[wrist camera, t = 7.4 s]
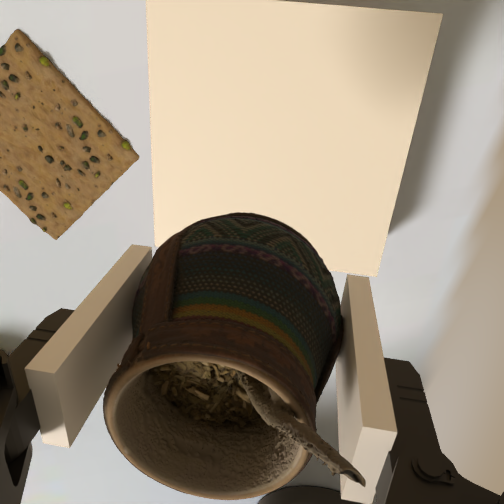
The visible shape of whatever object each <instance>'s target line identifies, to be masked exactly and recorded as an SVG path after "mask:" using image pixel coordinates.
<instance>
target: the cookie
mask: <svg viewBox="0 0 504 504" xmlns="http://www.w3.org/2000/svg"><path fill="white" fill-rule="evenodd" d="M138 159H139V156H138V155H137V153H136V152H135V151H134V150H133V149H132V148H131V146H130V144H129V143H128V142H127V141H126V140H124V139H123V138H122V137H121V136H120V135H119V134H118V132H117V131H116V130H115V129H114V128H113V127H112V126H111V125H110V123H109V122H107V121H106V120H105V119H104V118H103V117H102V116H101V115H100V114H99V113H98V112H97V111H96V110H95V109H94V108H93V106H92V105H91V104H90V103H89V102H88V101H87V100H86V99H85V98H84V97H83V96H82V95H81V94H80V93H79V92H78V91H77V90H76V88H75V87H74V86H73V85H72V84H71V83H70V82H69V81H68V79H67V78H66V77H64V76H63V75H62V74H61V73H60V72H59V71H58V70H57V69H56V68H55V66H54V65H53V64H52V63H51V62H50V60H49V59H48V58H46V57H45V56H44V55H43V54H42V53H41V52H40V51H39V49H38V48H37V47H36V46H35V45H34V44H33V43H32V42H31V41H30V39H29V38H28V37H27V36H26V35H25V34H24V33H22V32H21V31H20V30H15V31H14V33H12V34H11V36H10V37H9V39H8V41H7V42H6V44H5V45H4V46H2V47H1V48H0V191H1V192H2V193H3V194H5V195H6V196H7V197H8V198H9V199H10V200H11V201H12V202H13V203H14V204H15V205H16V206H17V207H18V208H19V209H20V210H21V211H22V212H23V213H24V214H25V215H27V217H28V218H29V219H30V221H31V222H32V223H33V224H36V225H38V226H39V227H40V228H41V229H42V230H43V232H46V233H48V234H49V235H50V236H52V238H54V239H55V240H57V239H58V238H59V236H61V235H62V234H63V233H64V232H65V231H66V230H67V229H68V228H69V227H70V226H71V225H72V224H73V223H74V222H75V221H76V220H77V219H79V218H80V217H81V216H82V215H83V213H84V212H85V211H86V210H87V209H88V208H89V207H90V206H92V204H93V203H94V202H95V201H96V200H97V199H98V198H99V197H100V196H101V195H102V194H103V193H104V192H105V191H106V190H108V189H109V188H110V186H111V185H112V184H113V183H114V182H115V181H116V180H117V179H118V178H119V177H120V176H122V175H123V173H124V172H125V171H127V170H128V168H129V167H130V166H131V165H132V164H133V163H134V162H136V161H137V160H138Z"/></svg>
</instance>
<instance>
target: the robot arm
mask: <svg viewBox="0 0 504 504" xmlns="http://www.w3.org/2000/svg"><path fill="white" fill-rule="evenodd" d="M151 261H152V247H147V246H140V245H133V244H132V245H131V246H130V247H129V249H128V250H127V251H126V252H125V253H124V254H123V255H122V257H121V258H120V259H119V260H118V261H117V262H116V264H115V265H114V266H113V267H112V268H111V269H110V270H109V272H108V273H107V274H106V275H105V276H104V277H103V279H102V280H101V281H100V282H99V283H98V284H97V285H96V287H95V288H94V289H93V290H92V291H91V292H90V294H89V295H88V296H87V297H86V298H85V299H84V300H83V302H82V303H81V304H80V305H79V306H78V307H77V309H76V310H69V309H63V308H61V309H59V310H58V311H56V312H54V313H52V314H51V315H49V316H47V317H46V318H45V319H44V320H43V321H42V322H41V323H40V324H39V325H38V326H37V327H36V330H33V332H32V333H31V334H30V335H29V336H28V337H27V340H26V339H25V340H24V341H23V342H22V343H21V344H20V345H19V346H18V347H17V348H16V349H15V351H14V352H13V353H12V354H11V355H10V356H9V357H8V356H7V355H6V353H5V352H4V351H3V350H0V504H20V503H21V499H22V495H23V491H24V487H25V483H26V478H27V474H28V470H29V466H30V462H31V458H32V444H31V441H32V439H33V438H34V436H35V435H36V434H37V432H38V431H39V429H40V432H41V436H42V440H43V443H46V444H51V445H56V446H62V447H67V448H70V447H71V445H72V443H73V442H74V440H75V438H76V437H77V435H78V433H79V432H80V430H81V428H82V427H83V425H84V423H85V421H86V420H87V418H88V416H89V415H90V413H91V411H92V410H93V408H94V406H95V405H96V403H97V401H98V400H99V398H100V396H101V395H102V393H103V391H104V390H105V388H106V386H107V385H108V382H109V379H110V378H111V376H112V375H113V374H114V373H115V371H116V369H117V368H118V367H117V364H120V363H121V361H122V359H123V356H124V354H125V352H126V351H127V349H128V347H129V345H130V344H131V342H132V337H133V334H132V330H133V329H132V309H133V305H134V299H135V295H136V292H137V290H138V287H139V283H140V281H141V278H142V275H143V274H144V272H145V270H146V268H147V267H148V265H149V264H150V262H151ZM340 307H341V315H342V316H343V321H344V323H343V324H344V332H343V338H342V344H341V348H340V352H339V354H338V357H337V359H336V386H337V411H338V436H339V454H340V455H341V456H342V457H344V458H345V459H346V460H347V461H349V462H350V463H351V464H352V465H353V467H354V468H356V469H357V470H358V471H359V472H360V474H361V475H362V476H363V477H364V479H365V481H366V486H365V487H363V486H362V485H361V484H360V483H356V482H354V481H352V480H350V479H349V478H348V477H347V476H345V475H344V474H340V486H341V493H340V492H337V491H334V490H330V489H325V488H320V487H309V486H301V487H290V488H285V489H281V490H278V491H275V492H273V493H270V494H269V495H267V496H265V497H264V498H263V499H261V500H260V501H259V502H258V504H362V503H365V504H372V501H373V499H374V496H375V493H376V498H377V504H504V492H503V494H502V495H501V496H500V495H497V494H495V493H493V492H491V491H489V490H487V489H485V488H482V487H480V486H478V485H476V484H474V483H472V482H470V481H469V480H467V479H465V478H464V477H462V476H461V475H460V474H458V472H457V470H456V468H455V467H454V465H453V463H452V462H451V461H450V460H449V459H448V458H447V457H446V456H445V455H444V454H443V453H442V452H441V449H440V446H439V443H438V439H437V435H436V432H435V428H434V425H433V421H432V417H431V414H430V410H429V407H428V404H427V400H426V396H425V392H423V391H424V389H423V385H422V382H421V378H420V375H419V374H418V372H417V371H416V370H415V368H414V367H413V366H412V365H411V363H410V362H409V361H403V360H396V359H390V358H384V357H383V352H382V346H381V341H380V335H379V330H378V325H377V319H376V314H375V308H374V303H373V298H372V292H371V287H370V282H369V277H362V276H355V275H348V274H347V278H346V283H345V287H344V292H343V297H342V301H341V306H340Z"/></svg>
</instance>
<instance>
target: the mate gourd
mask: <svg viewBox="0 0 504 504" xmlns="http://www.w3.org/2000/svg"><path fill="white" fill-rule="evenodd" d="M343 323H344V321H343V316H342V315H341V307H340V300H339V296H338V294H337V291H336V288H335V283H334V281H333V277H332V275H331V273H330V272H329V270H328V269H327V267H326V265H325V264H324V261H323V259H322V258H321V257H320V256H319V255H318V252H317V251H316V249H315V248H314V247H313V246H312V244H311V243H310V242H309V241H308V240H307V239H306V238H305V237H304V236H303V235H302V234H301V233H299V232H297V231H296V230H295V229H293V228H292V227H290V226H288V225H287V224H284V223H283V222H281V221H278V220H276V219H273V218H270V217H267V216H264V215H260V214H255V213H245V212H243V213H241V212H235V213H229V214H225V215H221V216H215V217H210V218H207V219H201V220H200V221H197V222H196V223H193V224H191V225H189V226H187V227H185V228H184V229H183V230H182V231H180V232H178V233H176V234H174V235H173V236H171V237H170V238H168V239H167V240H166V241H165V242H164V243H163V244H162V245H161V246H160V247H159V248H158V249H157V251H156V253H155V255H154V256H153V259H152V261H151V262H150V264H149V265H148V267H147V268H146V270H145V272H144V274H143V275H142V278H141V281H140V283H139V287H138V290H137V292H136V295H135V299H134V305H133V309H132V329H133V330H132V334H133V337H132V342H131V344H130V345H129V347H128V349H127V351H126V352H125V354H124V356H123V359H122V361H121V364H120V365H119V364H117V367H118V368H117V369H116V372H115V373H114V374H113V375H112V376H111V378H110V379H109V382H108V385H107V387H106V390H105V393H104V398H103V413H104V420H105V424H106V426H107V430H108V432H109V434H110V436H111V438H112V440H113V442H114V443H115V445H116V447H117V448H118V449H119V451H120V452H121V453H122V454H123V455H124V457H125V458H126V459H127V460H128V461H129V462H130V463H131V464H132V465H133V466H135V467H136V468H137V469H138V470H140V471H141V472H142V473H144V474H145V475H147V476H148V477H150V478H152V479H154V480H155V481H157V482H159V483H161V484H163V485H166V486H168V487H170V488H172V489H175V490H177V491H180V492H183V493H186V494H191V495H195V496H199V497H204V498H210V499H219V500H238V499H246V498H252V497H256V496H260V495H263V494H266V493H269V492H272V491H274V490H276V489H278V488H280V487H282V486H284V485H285V484H287V483H288V482H290V481H291V480H292V479H294V478H295V477H296V476H297V475H298V474H299V473H300V472H301V471H302V470H303V469H304V468H305V466H306V465H307V463H308V462H309V460H310V458H311V457H312V454H314V455H315V456H316V458H317V461H318V458H319V459H321V460H322V461H324V464H322V465H326V464H327V465H328V468H330V470H331V471H332V475H333V476H334V475H335V474H336V473H338V474H344V475H345V476H347V477H348V478H349V479H350V480H352V481H354V482H356V483H360V484H361V485H362V486H363V487H365V486H366V481H365V479H364V477H363V476H362V475H361V474H360V472H359V471H358V470H357V469H356V468H354V467H353V465H352V464H351V463H350V462H349V461H347V460H346V459H345V458H344V457H342V456H341V455H340V454H339V452H337V451H336V450H335V449H334V448H332V447H331V446H330V445H329V444H328V443H327V442H325V441H324V440H323V439H321V437H320V436H319V435H318V434H317V433H316V430H317V429H316V422H315V418H316V404H317V402H318V401H319V397H320V395H321V394H322V391H323V389H324V387H325V385H326V383H327V381H328V379H329V377H330V374H331V372H332V369H333V367H334V364H335V362H336V359H337V357H338V354H339V352H340V348H341V344H342V338H343V332H344V324H343Z"/></svg>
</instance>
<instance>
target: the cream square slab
mask: <svg viewBox="0 0 504 504" xmlns="http://www.w3.org/2000/svg"><path fill="white" fill-rule="evenodd" d="M146 17H147V44H148V72H149V99H150V126H151V153H152V180H153V208H154V235H155V246H156V247H160V246H161V245H162V244H163V243H164V242H165V241H166V240H167V239H168V238H170V237H171V236H173V235H174V234H176V233H178V232H180V231H182V230H183V229H184V228H185V227H187V226H189V225H191V224H193V223H196V222H197V221H200V220H201V219H207V218H210V217H215V216H221V215H225V214H229V213H235V212H241V213H243V212H245V213H255V214H260V215H264V216H267V217H270V218H273V219H276V220H278V221H281V222H283V223H284V224H287V225H288V226H290V227H292V228H293V229H295V230H296V231H297V232H299V233H301V234H302V235H303V236H304V237H305V238H306V239H307V240H308V241H309V242H310V243H311V244H312V246H313V247H314V248H315V249H316V251H317V252H318V255H319V256H320V257H321V258H322V259H323V261H324V264H325V265H326V267H327V269H328V270H331V271H339V272H346V273H353V274H361V275H368V276H375V277H377V273H378V270H379V266H380V262H381V258H382V254H383V250H384V246H385V242H386V238H387V234H388V230H389V226H390V222H391V218H392V214H393V210H394V206H395V202H396V198H397V194H398V191H399V187H400V183H401V179H402V175H403V171H404V167H405V163H406V159H407V155H408V151H409V147H410V143H411V139H412V135H413V131H414V127H415V123H416V119H417V116H418V112H419V108H420V104H421V100H422V96H423V92H424V88H425V84H426V80H427V76H428V72H429V68H430V64H431V60H432V56H433V52H434V48H435V44H436V41H437V37H438V33H439V29H440V25H441V21H442V17H443V14H440V13H427V12H415V11H402V10H390V9H378V8H365V7H353V6H340V5H328V4H315V3H303V2H291V1H278V0H146Z"/></svg>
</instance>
